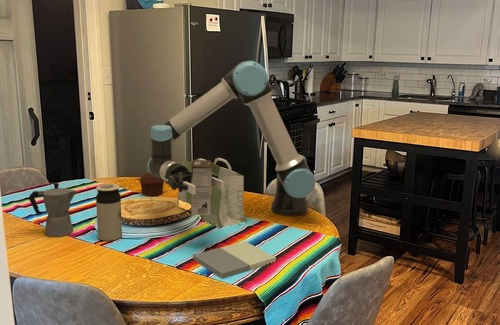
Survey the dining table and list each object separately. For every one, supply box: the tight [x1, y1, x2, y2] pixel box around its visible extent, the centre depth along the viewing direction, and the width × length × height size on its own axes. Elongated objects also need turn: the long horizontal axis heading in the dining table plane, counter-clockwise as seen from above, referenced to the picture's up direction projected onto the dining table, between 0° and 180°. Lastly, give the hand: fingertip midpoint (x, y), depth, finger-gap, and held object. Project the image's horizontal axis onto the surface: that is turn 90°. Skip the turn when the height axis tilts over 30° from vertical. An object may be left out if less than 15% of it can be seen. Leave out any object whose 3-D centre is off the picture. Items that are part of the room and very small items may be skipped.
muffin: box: [138, 171, 165, 198], centre depth 216 cm, size 12×11×10 cm
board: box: [192, 240, 277, 279], centre depth 148 cm, size 20×16×2 cm
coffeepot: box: [28, 182, 78, 238], centre depth 166 cm, size 15×9×18 cm, turn 110°
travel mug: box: [95, 183, 123, 242], centre depth 163 cm, size 8×8×18 cm
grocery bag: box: [177, 157, 248, 229], centre depth 189 cm, size 32×14×23 cm, turn 38°
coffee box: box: [191, 159, 212, 216], centre depth 155 cm, size 9×6×16 cm
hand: (208, 187), depth 152 cm, fingers closed on coffee box, 10 cm apart
